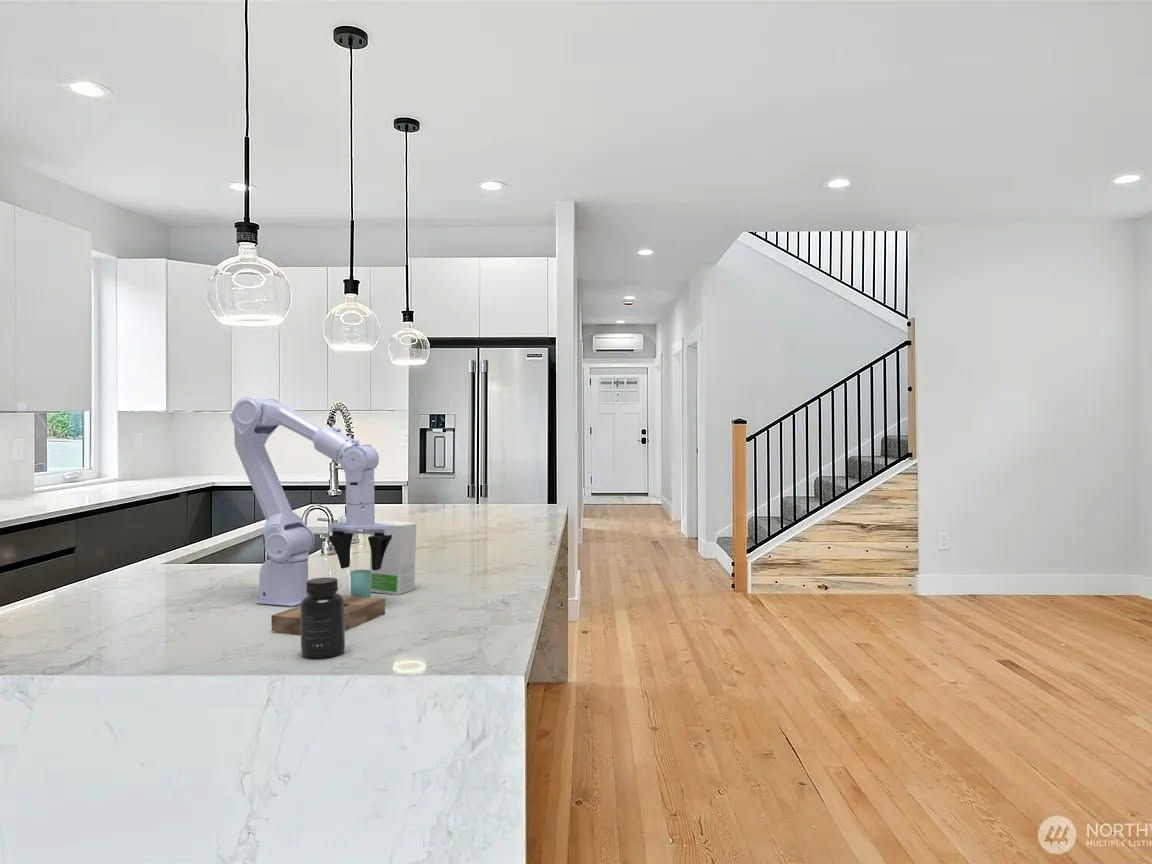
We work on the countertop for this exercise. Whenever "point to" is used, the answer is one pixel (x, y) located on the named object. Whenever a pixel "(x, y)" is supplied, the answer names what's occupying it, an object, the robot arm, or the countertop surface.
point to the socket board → (354, 614)
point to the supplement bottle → (322, 620)
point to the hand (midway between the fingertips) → (360, 568)
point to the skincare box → (396, 561)
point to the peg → (361, 583)
